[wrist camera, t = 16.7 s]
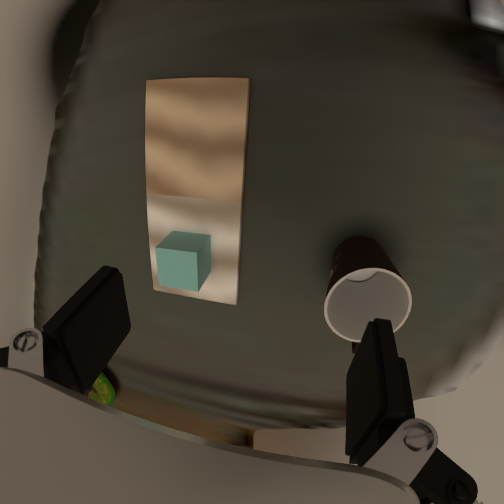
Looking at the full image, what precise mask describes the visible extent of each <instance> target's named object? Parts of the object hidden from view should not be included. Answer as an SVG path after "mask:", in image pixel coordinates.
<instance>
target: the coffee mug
mask: <svg viewBox="0 0 504 504" xmlns="http://www.w3.org/2000/svg"><path fill="white" fill-rule="evenodd" d="M411 304H412V298H411V293H410V290H409V287H408V286H407V284H406V282H405V281H404V279H403V278H402V276H401V275H400V274H399V272H398V271H397V269H396V268H395V266H394V265H393V263H392V262H391V261H390V259H389V258H388V256H387V255H386V254H385V252H384V251H383V249H382V248H381V247H380V245H379V244H378V243H377V242H376V241H374V240H373V239H371V238H368V237H363V236H356V237H352V238H349V239H347V240H345V241H344V242H342V243H341V244H340V245H339V246H338V248H337V249H336V251H335V253H334V257H333V262H332V268H331V273H330V279H329V284H328V289H327V294H326V299H325V304H324V314H325V319H326V321H327V323H328V325H329V327H330V328H331V329H332V330H333V332H335V333H336V334H337V335H339V336H340V337H342V338H344V339H346V340H349V341H352V351H353V353H356V351H357V349H358V346H359V344H360V341H361V339H362V336H363V334H364V331H365V329H366V326H367V324H368V322H369V321H373V320H374V319H375V318H381V319H388V320H391V323H392V328H393V333H394V332H395V331H397V330H398V329H399V328H400V327H401V326H402V325H403V324H404V322H405V321H406V319H407V317H408V315H409V313H410V310H411Z"/></svg>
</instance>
